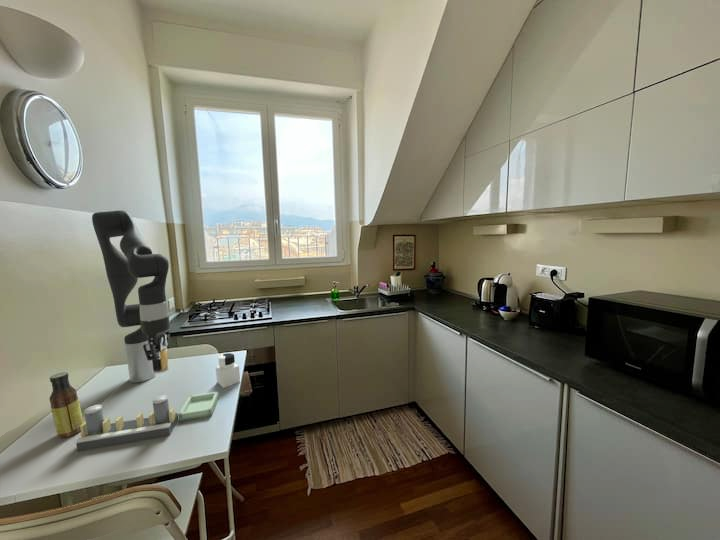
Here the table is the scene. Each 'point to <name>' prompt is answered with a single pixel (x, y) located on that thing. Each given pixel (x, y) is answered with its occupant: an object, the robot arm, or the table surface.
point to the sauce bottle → (65, 406)
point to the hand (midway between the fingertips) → (160, 366)
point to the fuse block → (126, 431)
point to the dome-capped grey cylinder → (94, 420)
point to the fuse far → (161, 409)
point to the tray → (199, 406)
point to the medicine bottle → (227, 370)
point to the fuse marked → (163, 360)
